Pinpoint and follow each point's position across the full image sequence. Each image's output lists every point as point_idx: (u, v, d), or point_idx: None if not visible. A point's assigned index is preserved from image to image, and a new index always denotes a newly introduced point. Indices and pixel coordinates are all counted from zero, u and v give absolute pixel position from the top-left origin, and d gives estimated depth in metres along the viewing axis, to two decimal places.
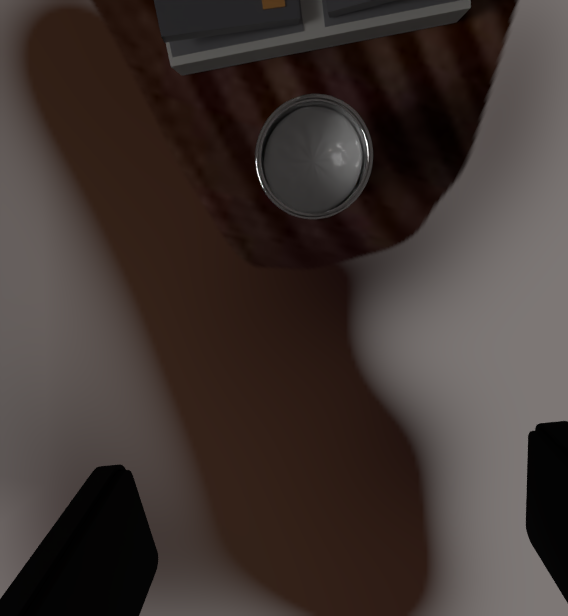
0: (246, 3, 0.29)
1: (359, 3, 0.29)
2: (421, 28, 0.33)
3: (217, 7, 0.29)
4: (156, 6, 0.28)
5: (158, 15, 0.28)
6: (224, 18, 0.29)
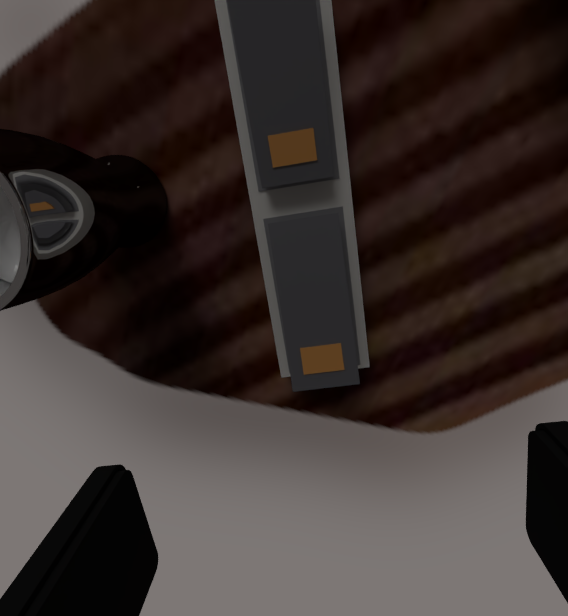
0: (273, 111, 0.21)
1: (274, 263, 0.23)
2: None
3: (265, 64, 0.20)
4: None
5: None
6: (253, 74, 0.20)
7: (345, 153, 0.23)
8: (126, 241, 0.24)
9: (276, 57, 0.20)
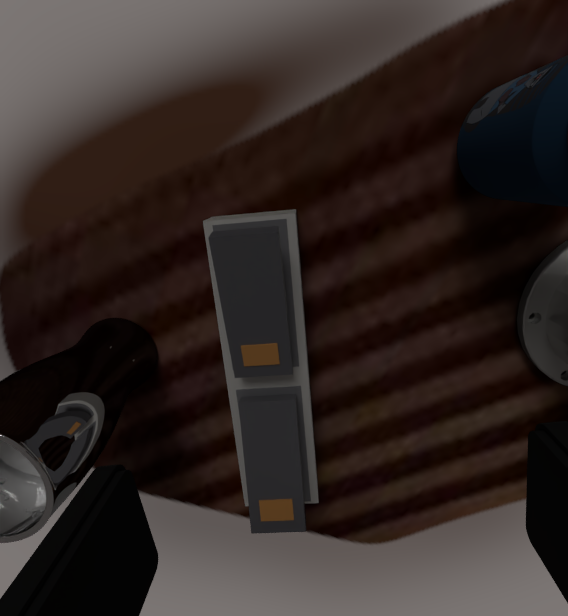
0: (246, 330, 0.26)
1: (242, 433, 0.29)
2: None
3: (241, 302, 0.25)
4: (239, 236, 0.23)
5: (230, 237, 0.23)
6: (231, 307, 0.25)
7: (304, 348, 0.29)
8: None
9: (250, 298, 0.25)
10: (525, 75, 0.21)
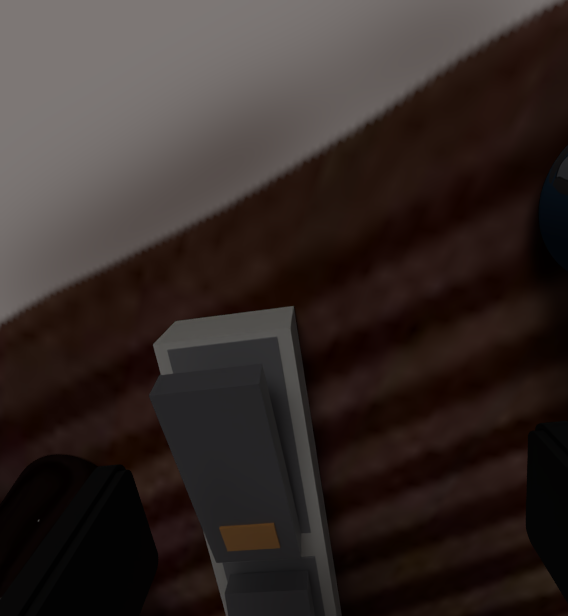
0: (225, 509, 0.17)
1: None
2: None
3: (213, 475, 0.16)
4: (198, 392, 0.14)
5: (184, 394, 0.14)
6: (198, 482, 0.16)
7: (317, 509, 0.20)
8: None
9: (225, 470, 0.16)
10: None
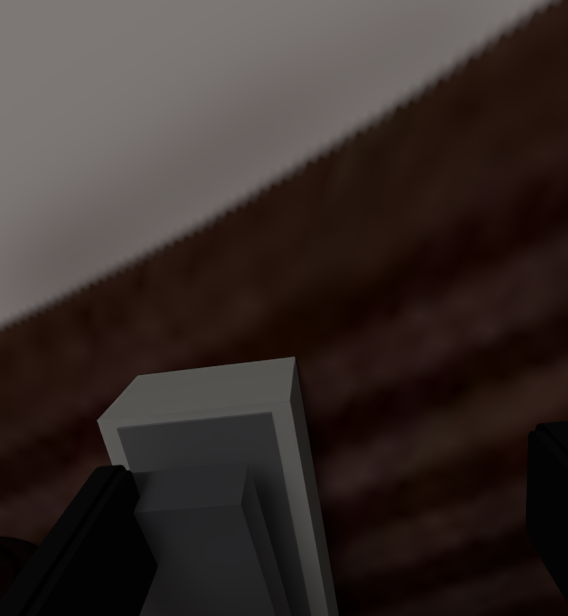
0: None
1: None
2: None
3: None
4: (149, 514, 0.09)
5: None
6: None
7: None
8: None
9: (197, 613, 0.11)
10: None
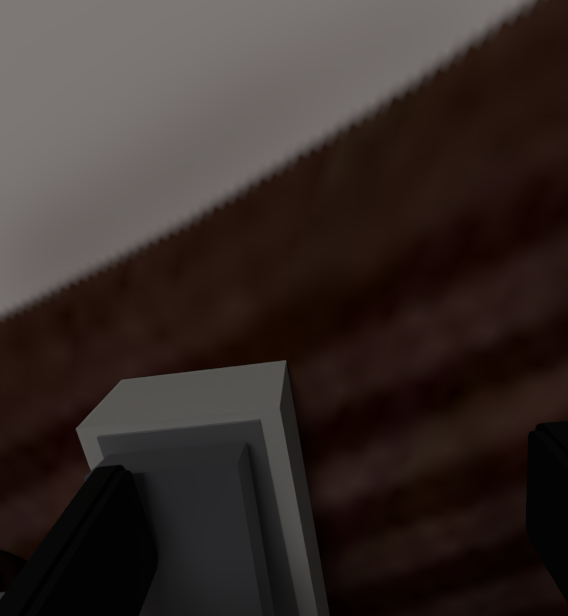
0: None
1: None
2: None
3: None
4: (152, 475, 0.10)
5: None
6: None
7: None
8: None
9: None
10: None
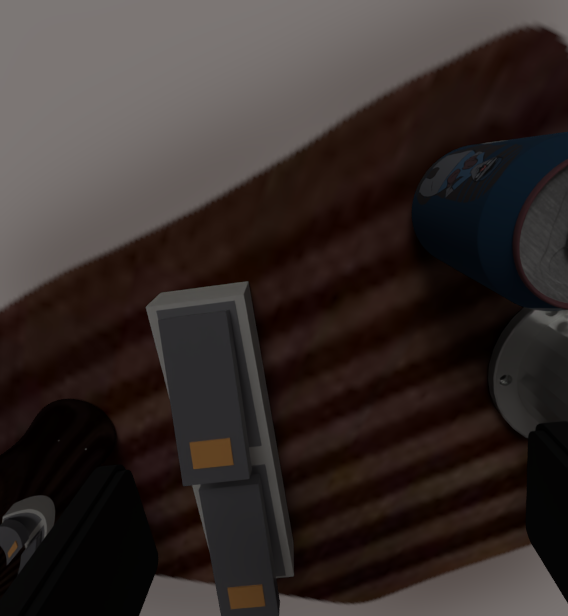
0: (195, 423, 0.24)
1: (204, 520, 0.27)
2: None
3: (190, 388, 0.24)
4: (188, 317, 0.23)
5: (179, 318, 0.23)
6: (179, 395, 0.24)
7: (265, 427, 0.27)
8: None
9: (199, 384, 0.24)
10: (473, 154, 0.19)
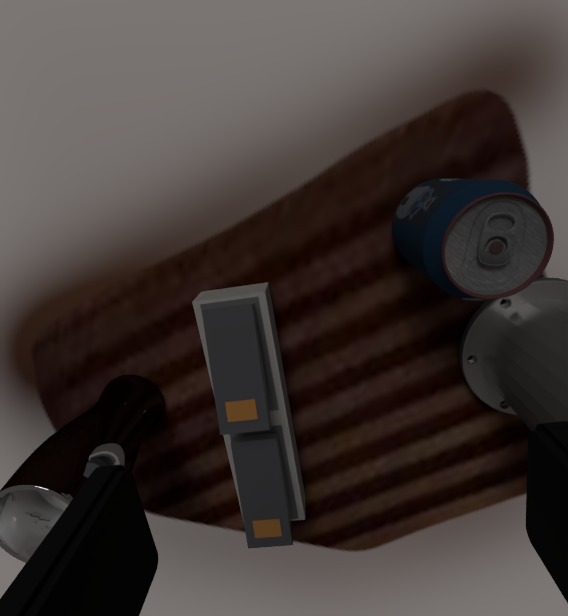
0: (229, 387, 0.32)
1: (235, 467, 0.35)
2: None
3: (225, 362, 0.32)
4: (224, 309, 0.32)
5: (217, 309, 0.32)
6: (217, 367, 0.32)
7: (282, 395, 0.35)
8: None
9: (232, 358, 0.32)
10: (428, 189, 0.27)
